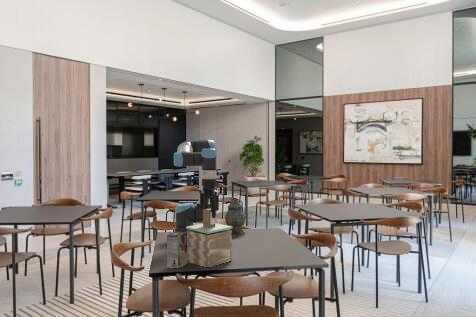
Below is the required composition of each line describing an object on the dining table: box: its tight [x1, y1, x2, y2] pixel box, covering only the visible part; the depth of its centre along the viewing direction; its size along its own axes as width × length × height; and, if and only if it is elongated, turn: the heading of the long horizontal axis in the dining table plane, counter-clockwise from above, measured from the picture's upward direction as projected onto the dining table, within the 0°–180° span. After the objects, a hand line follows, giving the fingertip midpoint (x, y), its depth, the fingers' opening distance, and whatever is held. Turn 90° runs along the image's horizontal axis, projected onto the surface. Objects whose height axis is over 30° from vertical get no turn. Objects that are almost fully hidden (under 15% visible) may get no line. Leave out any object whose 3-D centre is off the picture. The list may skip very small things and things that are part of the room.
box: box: [187, 229, 233, 268], centre depth 188 cm, size 16×16×16 cm
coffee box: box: [166, 232, 188, 269], centre depth 181 cm, size 9×6×16 cm
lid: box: [186, 208, 232, 234], centre depth 188 cm, size 17×17×10 cm
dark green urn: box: [224, 197, 246, 237], centre depth 255 cm, size 14×14×25 cm
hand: (209, 223), depth 188 cm, fingers closed on lid, 4 cm apart
